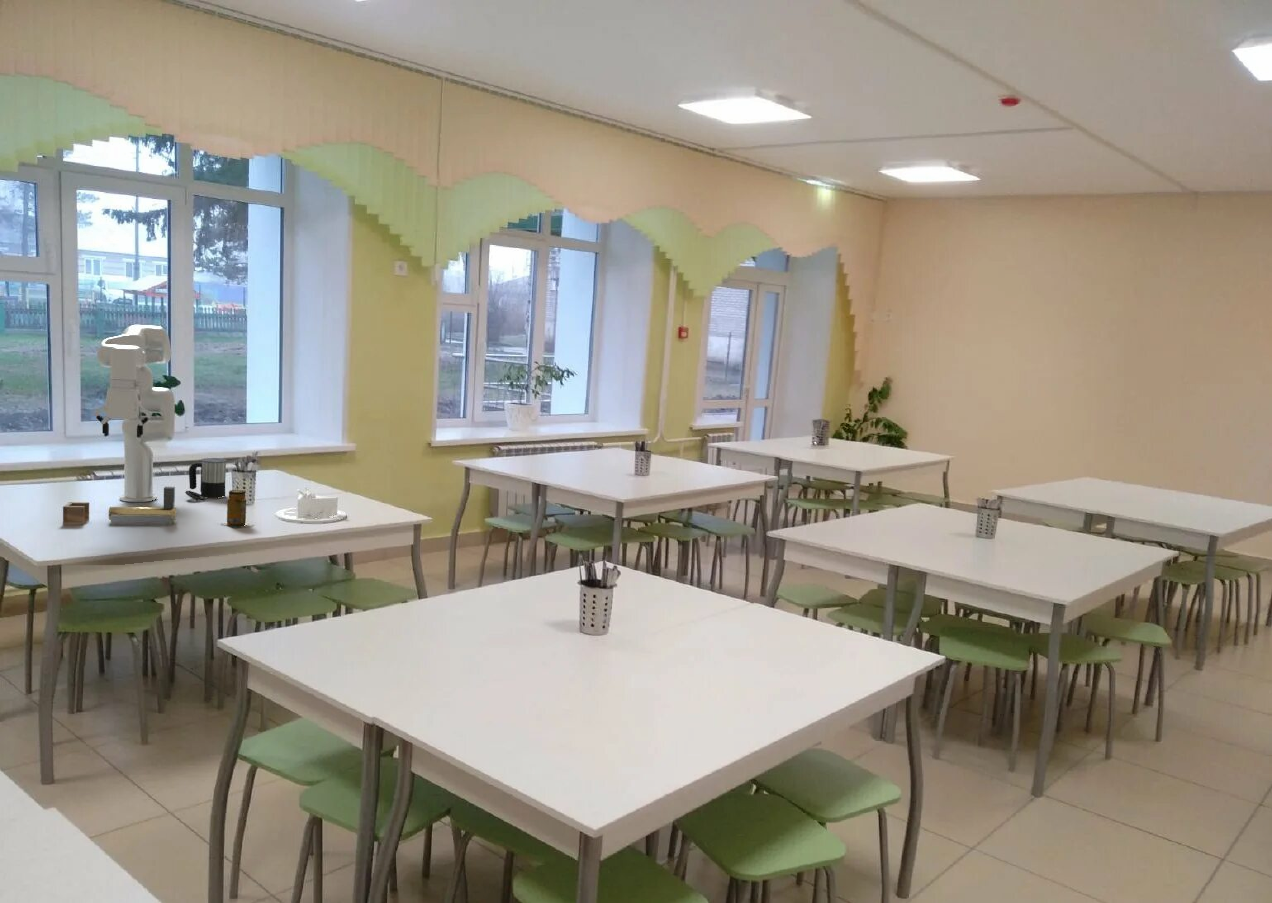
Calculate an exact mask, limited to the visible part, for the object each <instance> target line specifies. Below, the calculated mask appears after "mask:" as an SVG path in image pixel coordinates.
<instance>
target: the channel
mask: <svg viewBox="0 0 1272 903" xmlns="http://www.w3.org/2000/svg"><path fill="white" fill-rule="evenodd" d="M174 521H175V520H171V515H115V514H112V515H111V520H110V526H171V525H172V524H173V522H174Z"/></svg>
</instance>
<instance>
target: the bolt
mask: <svg viewBox="0 0 1272 903" xmlns="http://www.w3.org/2000/svg"><path fill="white" fill-rule="evenodd" d="M175 489H176V487H175V486H164V487H163V507H161V506H160V507H156V506H155V507H154V506H153V507H150V506H149V507H147V506H146V507H145V506H141V507H140V506H139V507H138V506H109V508H108V519H109V521H111V515H112V514H115V515H171V520H174V521H176V520H177V519H176V518H177V507H175V506H176V505H175V502H176V501H175V497H176V495H175V494H176V492H175V491H176V490H175Z"/></svg>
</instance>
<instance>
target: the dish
mask: <svg viewBox="0 0 1272 903" xmlns="http://www.w3.org/2000/svg"><path fill="white" fill-rule="evenodd" d="M304 489H305V492H303V491H302V490H301V489H299V488H298V489H296V491H297V492H298V493H300V494H298V498H297V504H296V505H297V506H296V507H288V508H282V509H280V510H277V511H276V512H275V514H274V515H275V516H274V517H275V519H277V518H278V519H277V520H279V519H282V520H281V521H283V520H285V521H284V522H287V521H291V522H290V523H294V522H303V523H302V524H324V523H323V522H329V523H332V522H331V521H335V520H339V519H342V518H345V517H346V516H347V514H346V512H345V511H343V510H340V509H338V501H339V500H338V499H339V498H338V497H335V496H334V497H333V496H323V495H316V494H315V493H314V492H312V491H309V490H308V488H307V486H306V484H304ZM295 510H297V517H296V516H289V515H284V513H295V512H292V511H295ZM337 513H338V514H339V516H337V517H333V518H330V517H329V516H332V515H333V516H334V515H337ZM296 518H305V519H296ZM315 518H317V519H315ZM346 518H347V517H346ZM346 518H345V519H346Z"/></svg>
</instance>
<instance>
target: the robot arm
mask: <svg viewBox="0 0 1272 903" xmlns="http://www.w3.org/2000/svg"><path fill="white" fill-rule="evenodd" d="M96 359H97V362H98V364H99V365H100V366H102V367H104V368H109V369H110V370H109V372H110V373H109V375H110V376H109V381H110V382H109V387H108V388H107V391H106V396H105V403H104V405H102V406H101V407H98V408H96V409H95V408H94V410H92V411H93V414H94V416H95V417H96V419H97V421H99V422H100V423H101V425H102V428H101V429H102V434H103V436H104V437H109V435H110V424H109V423H108V422H110V420H122V423H121V430H122V437H123V444H124V445H123V446H124V449H123V450H124V472H123V473H124V475H123V476H124V477H123V478H124V481H123V482H124V483H123V485H124V486H123V488H124V489H123V490H124V491H123V492H124V493H123V494H121V495H120V496H119V500H120V501H123V502H130V503H131V502H132V503H145V502H152V500H153V501H156V500H158V495H156V494H153V493H154V490H153V489H154V483H153V480H154V466H153V465H154V454H153V453H154V452H153V451H152V449H151V448H150V446H149V445H148V444H147V442H148V443H149V442H150V443H151V442H153V443H155V442H156V443H166V442H167V443H168V442H171V441H172V440H173V439H174V437H175V436H174V435H175V417H176V416H175V410H176V408H175V407H176V405H175V404H176V402H175V401H176V400H175V394H174V392H173V390H171V389H170V388H168V387H155V386H153V385H154V384H153V383H154V374H153V372H152V370H151V368H150V367H149V366H148V365H147V364H150V365H151V364H152V365H154V364H155V365H166V364H168V363H169V362H170V361H171V359H172V347H171V343H170V337H169V334H168V332H167V330H166V329H165V328H164V327H162V326H157V325H144V324H143V325H141V324H133V325H128V326H127V327H126V328H125V329H124V331H123V332H122V334H121V335H117V336H113V337H112V336H111V337H108V338H106V339H104V340H102V341H101V343H100V344H99V347H98V349H97V353H96ZM103 411H104V415H105V416H104V417H103V416H102V415H101V412H103ZM142 413H143V414H145V415H142ZM153 414H160V416H152V415H153ZM155 499H156V500H155Z"/></svg>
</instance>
